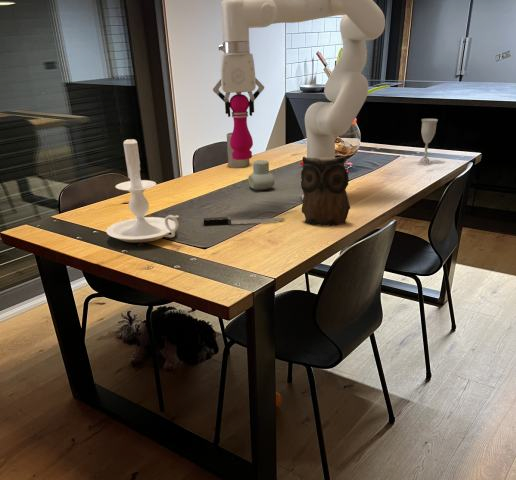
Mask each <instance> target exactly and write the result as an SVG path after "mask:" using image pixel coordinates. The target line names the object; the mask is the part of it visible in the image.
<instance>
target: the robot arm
mask: <svg viewBox="0 0 516 480" xmlns="http://www.w3.org/2000/svg"><path fill="white" fill-rule="evenodd" d="M220 14H221V27H222V40H223V41H222V44H218V51H221V52H223V54H221V57H220V79H219V80H218V82H217V83H216V84H215V86H214V87H213V88H212V92H213V93H214V94H216V96H218V98H220V99H221V100H222V101H223V102H224V108H225V109H224V110H225V115H227V117H228V118H230V117H231V108H230V95H231V93H235V94H236V92H242V93H247V94H248V96H249V107H248V111H249V112H248V115H249V116H250V117H252V116H253V113H255V101H256V100H257V98H258V97H259V96H260V94H261V93H262V92H263V91H264V90H265V85H263V84H262V82H260V81H259V79H257V77H256V70H255V69H256V68H255V61H254V55H253V53H251V52H250V51H251V49H250V29H256V28H257V29H260V28H261V29H262V28H267V27H269V26H271V25H274V24H293V23H303V22H304V23H305V22H309V21H315V20H321V19H325V18H330V17H337V16H342V17H341V19H340V23H339V31H340V35H341V40H342V51H341V55H340V57H339V59H338V61H337V62H336V64H335V66H334V68H333V69H332V71H331V73H330V75H329V77H328V79H327V80H326V83H325V85H324V89H323V91H324V92H323V93H324V96H325V98H326V99H327V100H328V101H330V102H325V101H317V102H315V103H314V102H313V103H312V104H310V105H309V107H308V108H307V109H306V112H305V114H304V126H305V134H306V158H318V157H325V158H326V157H335V156H336V155H335V154H336V143H335V137H336V138H338V137H342V136H344V135H345V134H347V132H348V131H349V129H350V128H351V127H352V125H353V123H354V122H355V119H356V118H357V117H358V114H359V113H360V111H361V109H362V107H363V105H364V104H365V102H366V100H367V97H368V93H369V81H368V79H367V77H366V76H365V75H364V74H363V73H362V72H363V70H364V68H365V66H366V63H367V59H368V49H367V43H366V42H367V41H373V40H376V39H378V38H379V37H380V36H382V34H383V33H384V31H385V28H386V18H385V14H384V12H383V10H382V9H381V8H380V7H379V6H378V4H377V3H376V2H375V1H374V0H222V1H221V3H220ZM256 87H257V89H256ZM220 88H221V90H222V91H220ZM253 91H255V92H254V93H253ZM222 92H224V93H225V94H224V93H222ZM331 102H332V103H331ZM335 158H336V157H335ZM303 197H304V193H303V194H302V195H301V200H302V201H303Z"/></svg>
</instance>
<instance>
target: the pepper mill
mask: <svg viewBox="0 0 516 480" xmlns="http://www.w3.org/2000/svg"><path fill="white" fill-rule="evenodd" d="M242 93H243V92H235V94H233V95H232V96H231V97H230V98H229V102H230V110H231V111H232V112H231V118H232V119H233V130H232V132H231V133H232V135H231V139H230V146H231V148H232V149H233V150H234V152H232V158H233V159H236V160H245V159H249V160H250V159H252V158H253V151H252V150H251V149H252V148H253V146H254V142H253V137H252V134H251V132H250V130H249V127H248V117H249V112H248V110H249V101H250V99H249V98H248V96H246V95H245V94H242Z"/></svg>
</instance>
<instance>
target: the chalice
mask: <svg viewBox="0 0 516 480" xmlns="http://www.w3.org/2000/svg"><path fill="white" fill-rule="evenodd" d="M438 121H439V119H437V118H421V131H420V132H421V138H422V140H423V143H424V144H425V145H424V151H423V153H424V155H423V157H421V158H420V160H419V162H418V164H419V166H429V165H431V162H430V158H429V157H428V156H427V155H428V153H429V152H428V149H429V144H430V143H431V142H432V140H433V138H434V137H435V135H436V130H437V123H438Z"/></svg>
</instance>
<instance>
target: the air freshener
mask: <svg viewBox="0 0 516 480" xmlns="http://www.w3.org/2000/svg"><path fill="white" fill-rule="evenodd" d="M269 164H270V163H269V161H268V160H264V159H263V160H262V159H261V160H260V159H259V160H255V161H253V162H252V171H253V172H252V173H250V175H248V177H247V178H248V179H247V180H248V181H247V182H248V185H249V187H250V188H251V189H252V190H255V191H266V190H269V189H271V188H273V187H274V186H275V183H276V181H275V177H274V174H272V173H271V172H270V165H269Z"/></svg>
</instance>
